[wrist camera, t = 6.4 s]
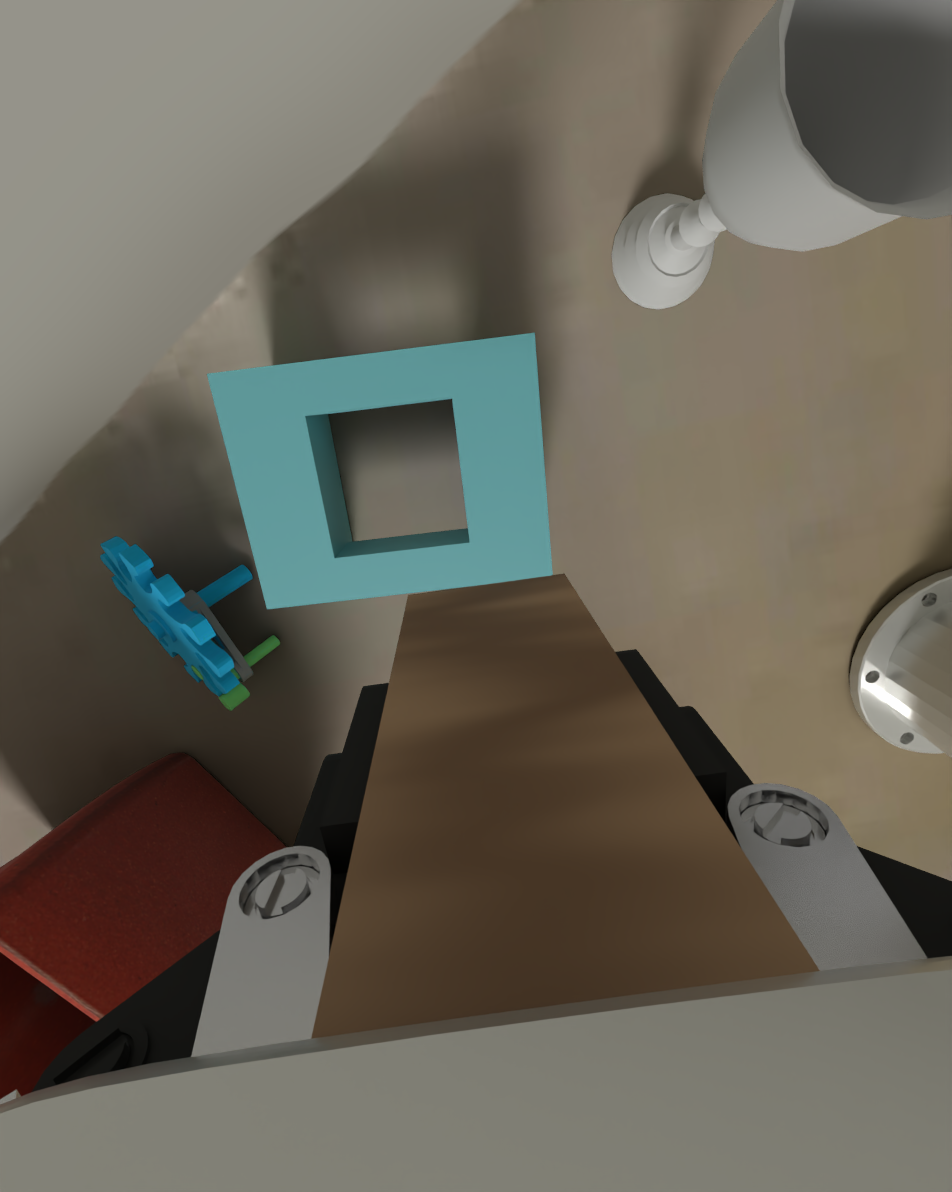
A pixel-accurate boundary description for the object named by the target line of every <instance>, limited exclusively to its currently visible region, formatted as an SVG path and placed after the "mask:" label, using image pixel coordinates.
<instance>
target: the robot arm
mask: <svg viewBox="0 0 952 1192" xmlns="http://www.w3.org/2000/svg"><path fill="white" fill-rule="evenodd" d="M615 653H616V655H617V656H618V658H619V659H620V661H621V662H622V664H623V666H624V667H625V669H626V670H627V672H628V673H629V675H630V676H631V678H632V680H633V681H634V683H635V684H636V686H637V687H638V689H639V690H640V692H641V694H642V695H643V697H644V698H645V700H646V701H647V703H648V704H649V706H650V708H651V709H652V711H653V712H654V714H655V715H656V717H657V718H658V720H659V721H660V723H661V725H662V726H663V728H664V729H665V731H666V732H667V734H668V735H669V737H670V739H671V740H672V742H673V743H674V745H675V746H676V748H677V749H678V751H679V753H680V754H681V756H682V757H683V759H684V760H685V762H686V763H687V765H688V767H689V768H690V770H691V771H692V773H693V774H694V776H695V777H696V779H697V781H698V782H699V784H700V785H701V787H702V788H703V790H704V791H705V793H706V795H707V796H708V798H709V799H710V801H711V802H712V804H713V805H714V807H715V808H716V810H717V812H718V813H719V815H720V816H721V818H722V819H723V821H724V822H725V824H726V826H727V827H728V829H729V830H730V832H731V833H732V835H733V836H734V838H735V840H736V841H737V843H738V844H739V846H740V847H741V849H742V850H743V852H744V854H745V855H746V857H747V858H748V860H749V861H750V863H751V864H752V866H753V868H754V869H755V871H756V872H757V874H758V875H759V877H760V878H761V880H762V882H763V883H764V885H765V886H766V888H767V889H768V891H769V892H770V894H771V896H772V897H773V899H774V900H775V902H776V903H777V905H778V906H779V908H780V909H781V911H782V913H783V914H784V916H785V917H786V919H787V920H788V922H789V923H790V925H791V927H792V928H793V930H794V931H795V933H796V934H797V936H798V937H799V939H800V941H801V942H802V944H803V945H804V947H805V948H806V950H807V951H808V953H809V955H810V956H811V958H812V959H813V961H814V962H815V964H816V965H817V967H818V969H819V970H820V971H815V972H807V973H800V974H792V975H784V976H776V977H768V978H760V979H752V980H744V981H737V982H729V983H721V984H713V985H705V986H697V987H689V988H682V989H674V990H666V991H659V992H651V993H644V994H636V995H628V996H621V997H613V998H606V999H598V1000H591V1001H583V1002H576V1003H568V1004H560V1005H553V1006H546V1007H538V1008H531V1009H523V1010H516V1011H508V1012H501V1013H493V1014H486V1015H479V1016H471V1017H464V1018H456V1019H449V1020H442V1021H435V1022H428V1023H420V1024H413V1025H406V1026H399V1027H392V1028H385V1029H377V1030H370V1031H363V1032H356V1033H349V1034H342V1035H334V1036H327V1037H320V1038H313V1039H311V1037H312V1032H313V1028H314V1023H315V1019H316V1014H317V1009H318V1005H319V1000H320V996H321V991H322V987H323V982H324V978H325V973H326V968H327V964H328V959H329V955H330V950H331V946H332V941H333V936H334V932H335V927H336V923H337V918H338V914H339V909H340V905H341V900H342V895H343V891H344V886H345V882H346V877H347V873H348V868H349V863H350V859H351V854H352V850H353V845H354V841H355V836H356V831H357V827H358V822H359V818H360V813H361V809H362V804H363V800H364V795H365V790H366V786H367V781H368V777H369V772H370V768H371V763H372V758H373V754H374V749H375V745H376V740H377V736H378V731H379V727H380V722H381V717H382V713H383V708H384V704H385V699H386V695H387V690H388V685H389V683H385V684H377V685H370V686H363V688H362V690H361V694H360V697H359V700H358V703H357V707H356V710H355V713H354V716H353V720H352V723H351V726H350V729H349V733H348V736H347V739H346V742H345V746H344V749H343V752H342V753H338V754H331V755H327V756H326V757H325V759H324V761H323V764H322V766H321V769H320V772H319V775H318V778H317V781H316V784H315V786H314V789H313V792H312V795H311V798H310V801H309V803H308V806H307V809H306V812H305V815H304V818H303V820H302V823H301V826H300V829H299V832H298V835H297V837H296V840H295V843H294V846H293V847H288V848H283V849H281V850H278V851H275V852H273V853H270V854H268V855H266V856H265V857H263V858H261V859H260V860H258V861H256V862H255V863H254V864H253V865H251V866H250V867H249V868H248V869H247V870H246V871H245V872H243V873H242V875H241V876H240V877H239V879H238V880H237V881H236V883H235V884H234V885H233V887H232V890H231V892H230V895H229V897H228V900H227V904H226V909H225V913H224V917H223V921H222V926H221V929H220V930H219V931H217V932H216V933H215V934H213V935H212V936H211V937H209V938H208V939H207V940H205V941H204V942H203V943H201V944H200V945H199V946H197V947H196V948H194V949H193V950H192V951H190V952H189V953H188V954H186V955H185V956H184V957H182V958H181V959H180V960H178V961H177V962H176V963H174V964H173V965H172V966H170V967H169V968H168V969H166V970H165V971H164V972H162V973H161V974H160V975H158V976H157V977H156V978H154V979H153V980H152V981H150V982H149V983H148V984H146V985H145V986H144V987H142V988H141V989H140V990H138V991H137V992H136V993H134V994H133V995H132V996H130V997H129V998H128V999H126V1000H125V1001H124V1002H122V1003H121V1004H120V1005H118V1006H117V1007H116V1008H114V1009H113V1010H112V1011H110V1012H109V1013H108V1014H106V1015H105V1016H104V1017H102V1018H101V1019H100V1020H98V1021H97V1022H96V1023H94V1024H93V1025H92V1026H90V1027H89V1028H88V1029H86V1030H85V1031H84V1032H82V1033H81V1034H80V1035H79V1036H78V1037H76V1038H75V1039H74V1040H73V1041H72V1042H71V1043H70V1044H68V1045H67V1046H66V1047H65V1048H64V1049H63V1050H62V1051H61V1052H60V1053H59V1054H58V1055H57V1056H56V1058H55V1059H54V1060H53V1061H52V1062H51V1063H50V1065H49V1066H48V1067H47V1068H46V1069H45V1071H44V1072H43V1074H42V1075H41V1077H40V1079H39V1080H38V1082H37V1084H36V1085H35V1087H34V1089H33V1090H32V1092H31V1093H29V1094H26V1095H24V1096H20V1094H19V1092H18V1091H17V1089H16V1090H15V1091H13V1092H11V1093H10V1094H8V1095H6V1096H5V1097H3V1098H2V1099H0V1192H952V881H949V880H947V879H944V878H941V877H939V876H936V875H933V874H930V873H928V872H925V871H922V870H920V869H917V868H914V867H912V866H909V865H906V864H904V863H901V862H898V861H896V860H893V859H890V858H888V857H885V856H882V855H879V854H877V853H874V852H871V851H869V850H866V849H863V848H861V847H858V846H856V845H855V843H854V841H853V840H852V838H851V837H850V835H849V833H848V832H847V830H846V829H845V827H844V826H843V824H842V822H841V821H840V819H839V818H838V816H837V815H836V814H835V813H834V812H833V811H832V809H831V808H830V807H829V806H828V805H827V804H825V803H824V802H822V801H821V800H819V799H818V798H817V797H815V796H813V795H811V794H809V793H807V792H804V791H802V790H800V789H797V788H793V787H789V786H786V785H782V784H770V783H762V784H753V783H752V781H751V780H750V779H749V777H748V776H747V775H746V774H745V772H744V771H743V770H742V768H741V767H740V766H739V765H738V763H737V762H736V761H735V760H734V758H733V757H732V756H731V754H730V753H729V752H728V751H727V749H726V748H725V747H724V745H723V744H722V743H721V742H720V740H719V739H718V738H717V737H716V735H715V734H714V733H713V731H712V730H711V729H710V728H709V726H708V725H707V724H706V722H705V721H704V720H703V719H702V717H701V716H700V715H699V714H698V712H697V711H696V710H695V709H694V708H693V707H691V706H685V707H679V706H678V705H677V704H676V702H675V701H674V700H673V698H672V697H671V696H670V694H669V693H668V691H667V690H666V689H665V687H664V686H663V685H662V683H661V682H660V681H659V679H658V678H657V677H656V675H655V674H654V672H653V671H652V670H651V668H650V667H649V666H648V664H647V663H646V662H645V660H644V659H643V657H642V656H641V655H640V653H639V652H638V651H637V650H636V649H635V650H627V651H620V652H615ZM850 693H851V696H852V700H853V703H854V706H855V708H856V710H857V712H858V713H859V715H860V717H861V719H862V720H863V721H864V722H865V723H866V724H867V725H868V726H869V727H870V728H871V729H872V730H873V731H874V732H875V733H877V734H878V735H879V736H881V737H882V738H883V739H885V740H886V741H887V742H889V743H891V744H893V745H895V746H897V747H899V748H902V749H906V750H910V751H914V752H918V753H933V754H938V753H945V754H947V755H948V756H949V757H951V758H952V569H949V570H946V571H942V572H938V573H936V574H934V575H932V576H929V577H927V578H925V579H923V580H921V581H918V582H917V583H915V584H914V585H912V586H910V587H909V588H907V589H906V590H904V591H903V592H901V593H900V594H898V595H897V596H896V597H895V598H894V599H893V600H892V601H890V602H889V603H888V604H887V605H886V606H885V607H884V608H883V609H882V610H881V611H880V612H879V613H878V615H877V616H876V617H875V618H874V619H873V621H872V622H871V623H870V624H869V626H868V627H867V629H866V631H865V632H864V634H863V636H862V637H861V639H860V641H859V643H858V646H857V648H856V651H855V654H854V656H853V659H852V665H851V671H850Z"/></svg>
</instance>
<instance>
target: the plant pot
mask: <svg viewBox="0 0 952 1192" xmlns="http://www.w3.org/2000/svg"><path fill="white" fill-rule="evenodd" d="M283 848H287V847H286V846H285V845H284V844H283V843H282V842H281V841H280V840H279V839H278V838H277V837H276V836H275V835H274V834H273V833H272V832H271V831H269V830H268V829H267V828H266V827H265V826H264V825H263V824H262V823H261V822H260V821H259V820H258V819H257V818H256V817H255V816H254V815H252V814H251V813H250V812H249V811H248V810H247V809H246V808H245V807H244V806H243V805H242V804H241V803H240V802H239V801H238V800H237V799H236V798H235V797H234V796H233V795H231V794H230V793H229V792H228V791H227V790H226V789H225V788H224V787H223V786H222V785H221V784H220V783H219V782H218V781H217V780H216V779H215V778H213V777H212V776H211V775H210V774H209V773H208V772H207V771H206V770H205V769H204V768H203V767H202V766H201V765H200V764H199V763H198V762H197V761H196V760H194V759H193V758H192V757H190V756H189V755H187V754H184V753H173V754H169V755H167V756H165V757H163V758H161V759H159V760H157V761H155V762H153V763H152V764H150V765H148V766H146V767H145V768H143V769H141V770H139V771H138V772H136V773H134V774H132V775H131V776H129V777H128V778H126V779H124V780H123V781H121V782H120V783H118V784H116V785H115V786H113V787H112V788H111V789H109V790H108V791H106V792H105V793H103V794H102V795H100V796H99V797H97V798H96V799H94V800H93V801H92V802H90V803H89V804H87V805H86V806H84V807H83V808H82V809H80V810H79V811H78V812H76V813H75V814H73V815H72V816H71V817H69V818H68V819H67V820H65V821H64V822H63V823H61V824H60V825H59V826H57V827H56V828H55V829H53V830H52V831H51V832H49V833H48V834H47V835H45V836H44V837H43V838H41V839H40V840H39V841H37V842H36V843H35V844H33V845H32V846H31V847H29V848H28V849H27V850H25V851H24V852H23V853H21V854H20V855H19V856H17V857H16V858H14V859H13V860H11V861H9V862H8V863H6V864H5V865H3V866H2V867H0V1099H2V1098H3V1097H5V1096H6V1095H8V1094H10V1093H11V1092H13V1091H15V1090H16V1089H17V1091H18V1092H19V1094H20V1096H24V1095H26V1094H29V1093H31V1092H32V1090H33V1089H34V1087H35V1085H36V1084H37V1082H38V1080H39V1079H40V1077H41V1075H42V1074H43V1072H44V1071H45V1069H46V1068H47V1067H48V1066H49V1065H50V1063H51V1062H52V1061H53V1060H54V1059H55V1058H56V1056H57V1055H58V1054H59V1053H60V1052H61V1051H62V1050H63V1049H64V1048H65V1047H66V1046H67V1045H68V1044H70V1043H71V1042H72V1041H73V1040H74V1039H75V1038H76V1037H78V1036H79V1035H80V1034H81V1033H82V1032H84V1031H85V1030H86V1029H88V1028H89V1027H90V1026H92V1025H93V1024H94V1023H96V1022H97V1021H98V1020H100V1019H101V1018H102V1017H104V1016H105V1015H106V1014H108V1013H109V1012H110V1011H112V1010H113V1009H114V1008H116V1007H117V1006H118V1005H120V1004H121V1003H122V1002H124V1001H125V1000H126V999H128V998H129V997H130V996H132V995H133V994H134V993H136V992H137V991H138V990H140V989H141V988H142V987H144V986H145V985H146V984H148V983H149V982H150V981H152V980H153V979H154V978H156V977H157V976H158V975H160V974H161V973H162V972H164V971H165V970H166V969H168V968H169V967H170V966H172V965H173V964H174V963H176V962H177V961H178V960H180V959H181V958H182V957H184V956H185V955H186V954H188V953H189V952H190V951H192V950H193V949H194V948H196V947H197V946H199V945H200V944H201V943H203V942H204V941H205V940H207V939H208V938H209V937H211V936H212V935H213V934H215V933H216V932H217V931H219V930H220V929H221V926H222V921H223V917H224V913H225V909H226V904H227V900H228V897H229V895H230V892H231V890H232V887H233V885H234V884H235V883H236V881H237V880H238V879H239V877H240V876H241V875H242V873H243V872H245V871H246V870H247V869H248V868H249V867H250V866H251V865H253V864H254V863H255V862H256V861H258V860H260V859H261V858H263V857H265V856H266V855H268V854H270V853H273V852H275V851H278V850H281V849H283Z"/></svg>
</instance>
